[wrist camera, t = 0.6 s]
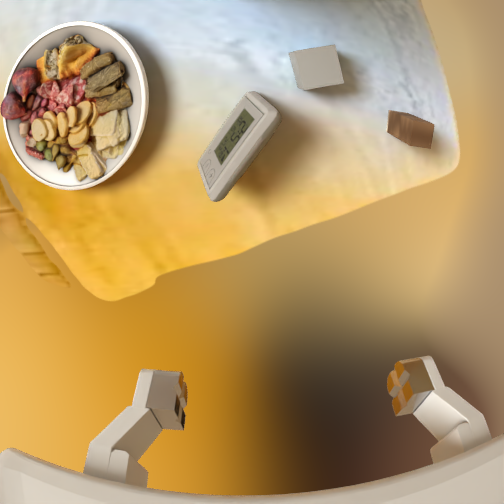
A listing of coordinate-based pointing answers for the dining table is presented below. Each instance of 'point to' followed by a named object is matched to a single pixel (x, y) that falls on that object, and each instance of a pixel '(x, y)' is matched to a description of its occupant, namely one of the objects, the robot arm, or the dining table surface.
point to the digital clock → (237, 144)
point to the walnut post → (410, 129)
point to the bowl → (75, 105)
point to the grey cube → (316, 67)
